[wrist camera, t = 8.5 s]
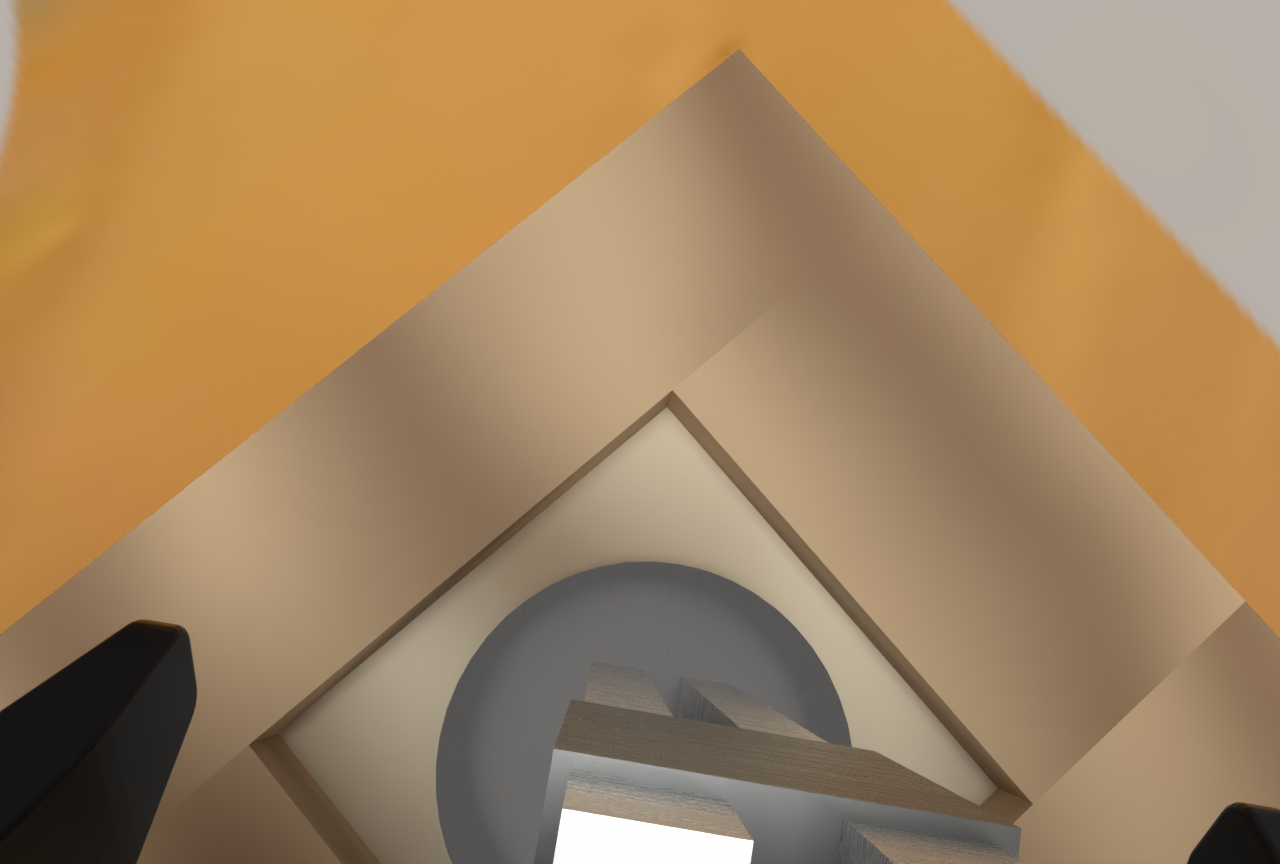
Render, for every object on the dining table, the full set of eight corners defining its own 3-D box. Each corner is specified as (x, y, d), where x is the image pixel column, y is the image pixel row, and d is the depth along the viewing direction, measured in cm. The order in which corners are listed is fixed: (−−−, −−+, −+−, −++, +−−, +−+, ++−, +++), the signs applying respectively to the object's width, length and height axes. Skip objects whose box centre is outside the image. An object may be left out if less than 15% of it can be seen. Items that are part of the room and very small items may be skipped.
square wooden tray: (534, 1537, 17) (523, 1694, 15) (-61, 742, 19) (-163, 763, 16) (1311, 763, 19) (1414, 786, 17) (723, 114, 21) (739, 49, 19)
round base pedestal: (805, 994, 18) (1553, 2424, 4) (414, 928, 18) (-293, 2128, 4) (857, 599, 19) (1595, 575, 5) (489, 535, 19) (157, 326, 5)
